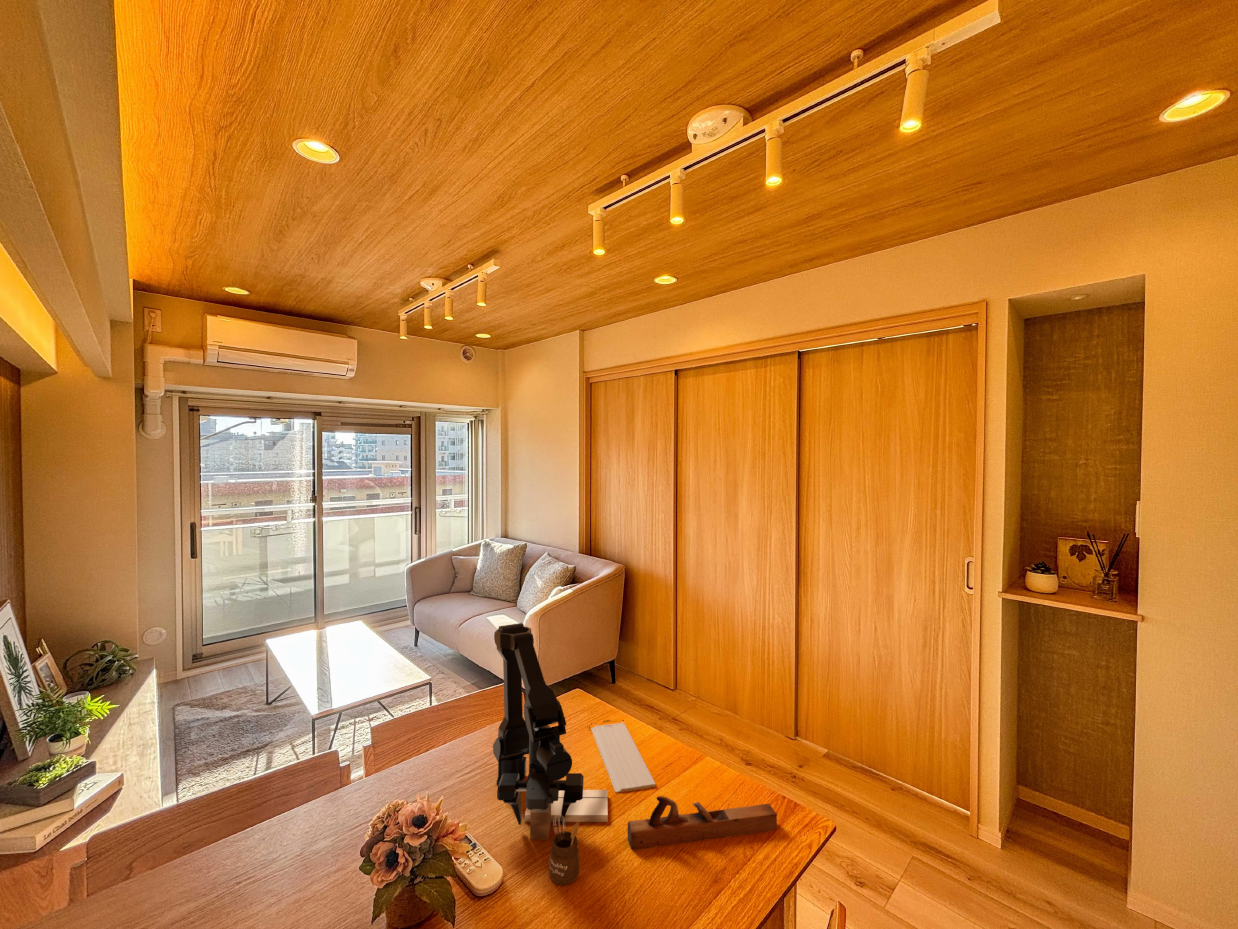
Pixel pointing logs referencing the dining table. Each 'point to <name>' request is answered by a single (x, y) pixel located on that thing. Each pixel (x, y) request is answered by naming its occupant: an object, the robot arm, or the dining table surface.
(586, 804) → the board
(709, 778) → the dining table surface
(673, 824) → the hand plane
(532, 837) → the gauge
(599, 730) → the baseboard molding
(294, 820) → the dining table surface
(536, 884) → the dining table surface
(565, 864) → the utensil holder
